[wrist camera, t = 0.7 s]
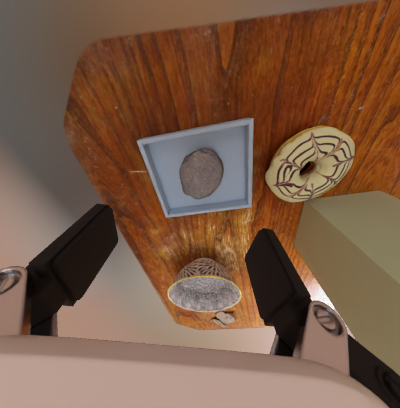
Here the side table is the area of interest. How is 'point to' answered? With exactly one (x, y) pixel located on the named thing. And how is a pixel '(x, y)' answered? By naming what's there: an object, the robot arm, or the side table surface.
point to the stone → (201, 173)
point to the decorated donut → (319, 167)
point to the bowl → (204, 287)
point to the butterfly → (224, 319)
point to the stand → (358, 264)
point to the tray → (192, 141)
